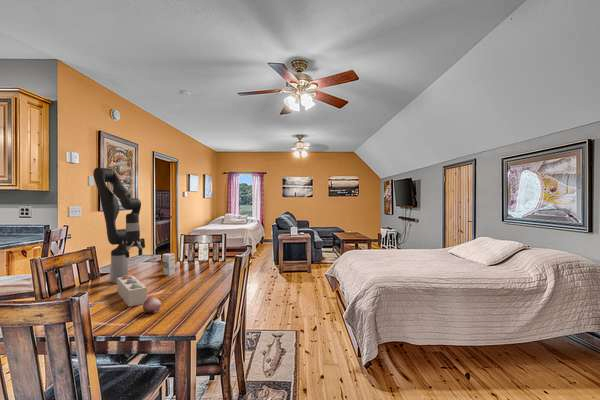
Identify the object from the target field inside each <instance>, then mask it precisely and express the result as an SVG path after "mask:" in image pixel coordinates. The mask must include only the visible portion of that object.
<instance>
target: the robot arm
mask: <svg viewBox="0 0 600 400" xmlns="http://www.w3.org/2000/svg"><path fill="white" fill-rule="evenodd" d="M93 180H94V182H95V185H96V189H97V191H98V196H99V198H100V199H99V200H100V204H101V209H102V212H103V218H104V221H105V227H106V234H107V235H106V236H107V240H108V242H109V244H110V245H112V246H115V245H117V247H115V248H113V249H112V250H111V251H110V267H109V277H110V278H109V280H110V283H111V284H117V278H120V277H123V275H129V258H130V250H131V249H132V248H134V247H137V249H138V256H142V255H143V249H144V248H146V243H145V242H146V241H145V238H144V237H143V238H142V237H141V229H140V228H141V227H140V219H139V217H140V213H141V212H140V211H141V209H142V202H141V200H140V199H139V198H137V197H135V198H133V197H132V195H131V193H130V192H129V190H128V189H127V188H126V187H125V186H124V185H123V183H122V182H121V180H120V179H119V176H118V175H117V173H116V172H115V171H114V170H113V169H112V168H108V167H95V168H94V170H93ZM106 183H110V184H111V185H112V186H113V187H112V191H113V192H112V191H111V190H110V189H109V187H108V186H107V184H106ZM119 202H120V204H121V207H122V209H124V210H131V212H130V213H127V214H126V215H125V228H121V229H117V227H116V220H117V217H118V215H119V213H120V204H119ZM140 237H141V238H140Z"/></svg>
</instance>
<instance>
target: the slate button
mask: <svg viewBox="0 0 600 400" xmlns="http://www.w3.org/2000/svg"><path fill="white" fill-rule="evenodd" d="M132 283H135V279H128V280H127V284H132Z"/></svg>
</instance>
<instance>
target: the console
mask: <svg viewBox="0 0 600 400" xmlns="http://www.w3.org/2000/svg"><path fill="white" fill-rule="evenodd" d="M131 279H135V283H140V284H141V288H136V289H132V284H134V283H132V284H127V280H128V279H125V280H123V277H120V278H117V283H116V287H117V289H116V291H117V294H118V295H119V296H120V298H121V299H122V300H123V301H124V302H125V304H126V306H128V307H134V306H139V305H143V303H144V302H145V301H146V300H147V299H148V298H147V295H148V294H147V293H148V292H147V289H148V288H147V286H146V285H145V284H143V283H142V281H140V280H138V278H136V277H135V276H134V275H131Z"/></svg>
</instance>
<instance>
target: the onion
mask: <svg viewBox="0 0 600 400" xmlns="http://www.w3.org/2000/svg"><path fill="white" fill-rule="evenodd" d="M161 306H162V302H161V300H160V299H158V298H156V297H153V296H149V297H148V298H147V300H146V301H145V302H144V303H143V304H142V310H143V312H144V313H145V314H157V313H158V314H159V313H160V308H161Z"/></svg>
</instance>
